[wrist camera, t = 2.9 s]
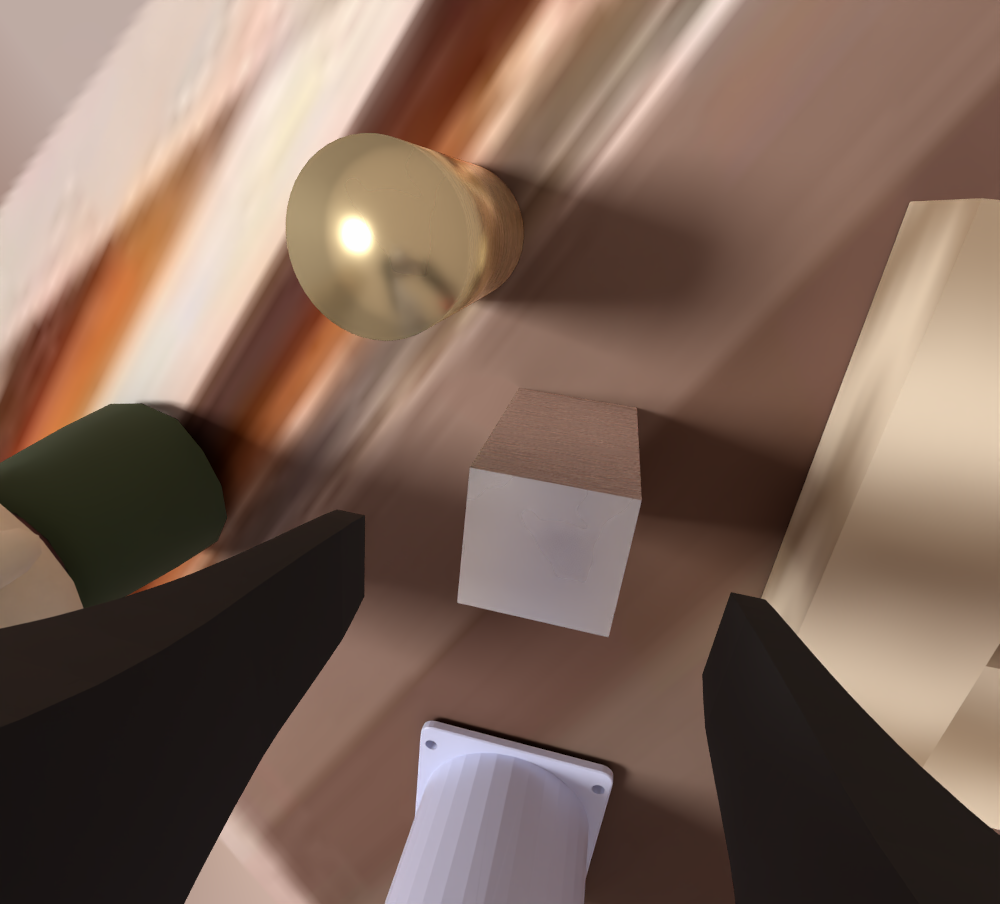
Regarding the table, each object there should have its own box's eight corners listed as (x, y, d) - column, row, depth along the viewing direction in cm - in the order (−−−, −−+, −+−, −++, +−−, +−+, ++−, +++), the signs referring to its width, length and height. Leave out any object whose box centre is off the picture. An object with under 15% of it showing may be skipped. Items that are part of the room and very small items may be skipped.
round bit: (515, 307, 16) (460, 353, 11) (398, 290, 17) (290, 326, 11) (531, 170, 15) (477, 143, 9) (402, 155, 15) (281, 123, 10)
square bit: (613, 511, 18) (608, 637, 13) (506, 490, 19) (456, 602, 13) (637, 407, 17) (641, 500, 11) (519, 387, 17) (469, 467, 12)
